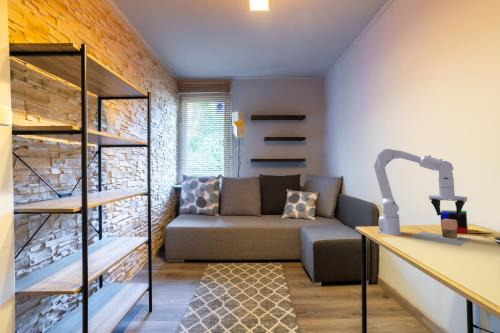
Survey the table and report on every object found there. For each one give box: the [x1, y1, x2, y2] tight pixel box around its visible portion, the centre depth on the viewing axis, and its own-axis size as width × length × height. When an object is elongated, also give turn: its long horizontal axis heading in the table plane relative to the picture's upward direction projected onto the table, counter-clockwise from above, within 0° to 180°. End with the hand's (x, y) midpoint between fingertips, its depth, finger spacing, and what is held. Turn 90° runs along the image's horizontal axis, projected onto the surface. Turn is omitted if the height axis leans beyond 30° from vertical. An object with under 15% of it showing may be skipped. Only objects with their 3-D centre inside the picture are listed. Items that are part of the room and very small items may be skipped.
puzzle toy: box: [439, 209, 469, 235], centre depth 135 cm, size 10×10×10 cm
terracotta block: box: [440, 219, 457, 230], centre depth 125 cm, size 4×4×4 cm
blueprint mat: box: [409, 231, 471, 247], centre depth 125 cm, size 20×14×1 cm
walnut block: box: [441, 229, 458, 239], centre depth 125 cm, size 4×4×4 cm
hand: (448, 215), depth 125 cm, fingers open, 7 cm apart
